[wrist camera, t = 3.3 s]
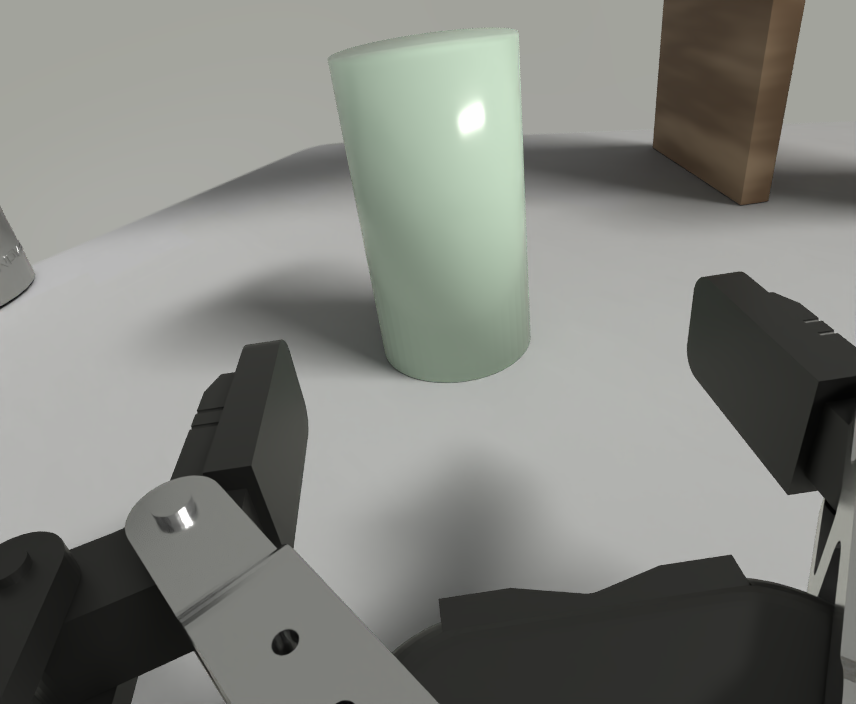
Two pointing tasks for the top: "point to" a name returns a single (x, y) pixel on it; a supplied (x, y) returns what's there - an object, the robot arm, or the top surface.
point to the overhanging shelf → (726, 89)
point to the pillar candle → (440, 196)
